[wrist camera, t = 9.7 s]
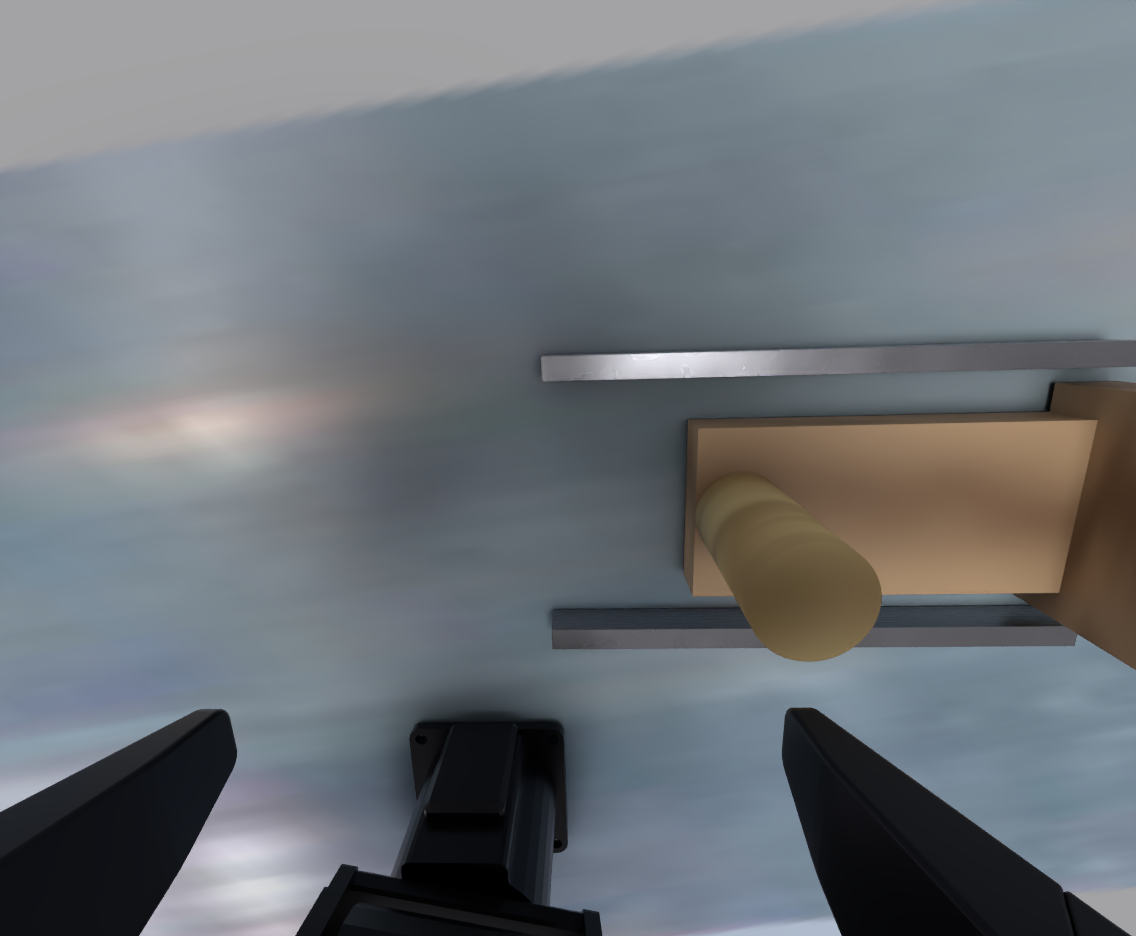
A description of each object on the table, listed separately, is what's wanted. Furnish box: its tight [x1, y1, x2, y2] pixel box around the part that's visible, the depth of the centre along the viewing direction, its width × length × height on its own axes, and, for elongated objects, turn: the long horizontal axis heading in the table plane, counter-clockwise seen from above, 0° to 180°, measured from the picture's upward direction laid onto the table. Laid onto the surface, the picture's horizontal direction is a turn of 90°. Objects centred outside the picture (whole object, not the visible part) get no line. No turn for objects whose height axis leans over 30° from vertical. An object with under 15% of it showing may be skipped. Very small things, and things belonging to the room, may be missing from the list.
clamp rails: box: [541, 340, 1136, 649], centre depth 19 cm, size 11×19×2 cm, turn 92°
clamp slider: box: [684, 381, 1136, 670], centre depth 16 cm, size 8×14×8 cm, turn 92°
